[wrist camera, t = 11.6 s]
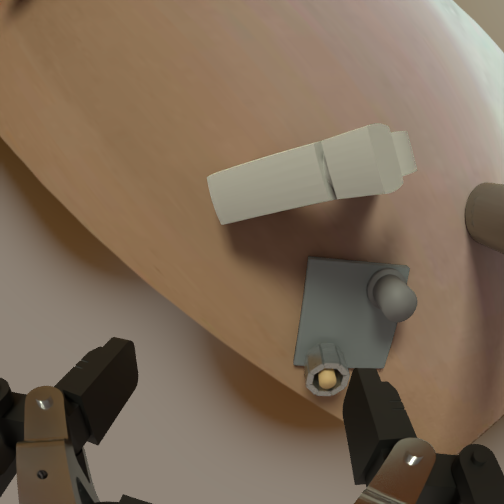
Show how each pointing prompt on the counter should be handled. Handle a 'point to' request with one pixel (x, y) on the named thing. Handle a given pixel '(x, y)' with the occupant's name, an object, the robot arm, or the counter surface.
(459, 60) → the counter surface
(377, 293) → the board
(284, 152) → the faucet
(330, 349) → the tube
